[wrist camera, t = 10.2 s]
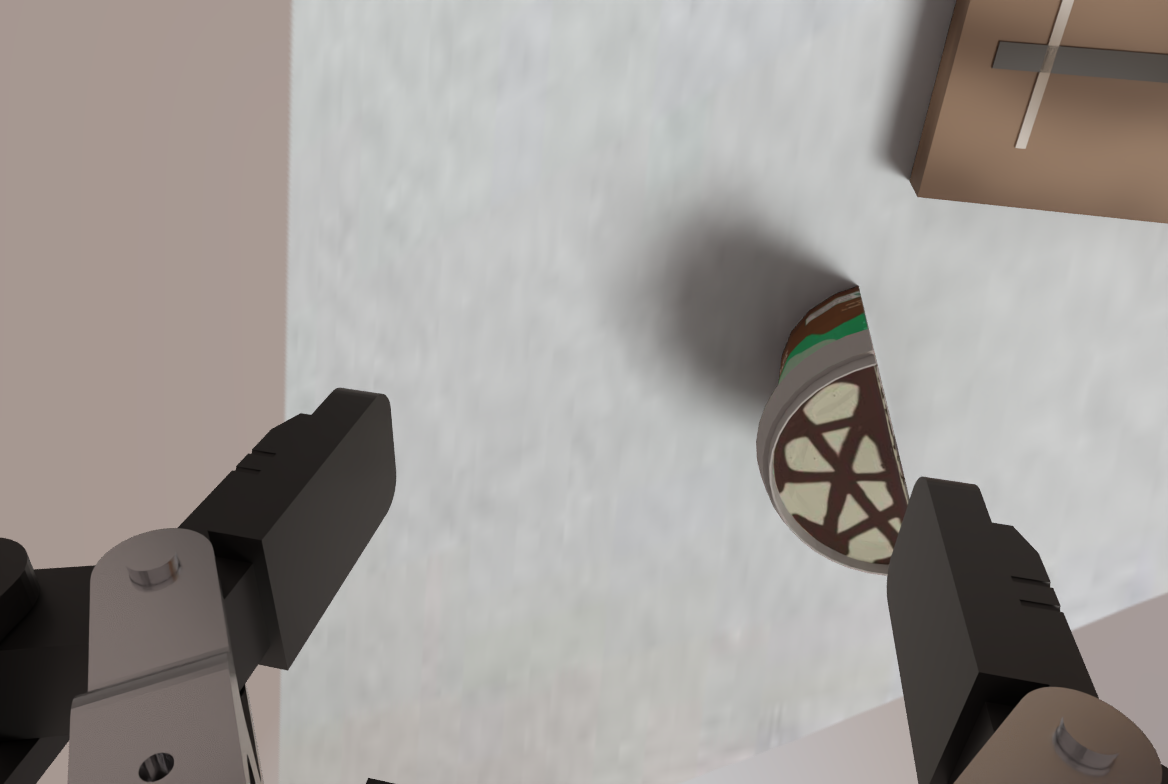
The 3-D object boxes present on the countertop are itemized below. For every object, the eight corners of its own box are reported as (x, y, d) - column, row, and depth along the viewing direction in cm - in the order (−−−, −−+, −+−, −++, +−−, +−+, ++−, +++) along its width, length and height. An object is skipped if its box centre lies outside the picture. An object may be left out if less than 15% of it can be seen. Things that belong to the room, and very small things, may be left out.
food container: (731, 291, 43) (721, 386, 34) (852, 258, 41) (873, 351, 32) (790, 479, 48) (794, 601, 39) (900, 458, 46) (929, 583, 37)
